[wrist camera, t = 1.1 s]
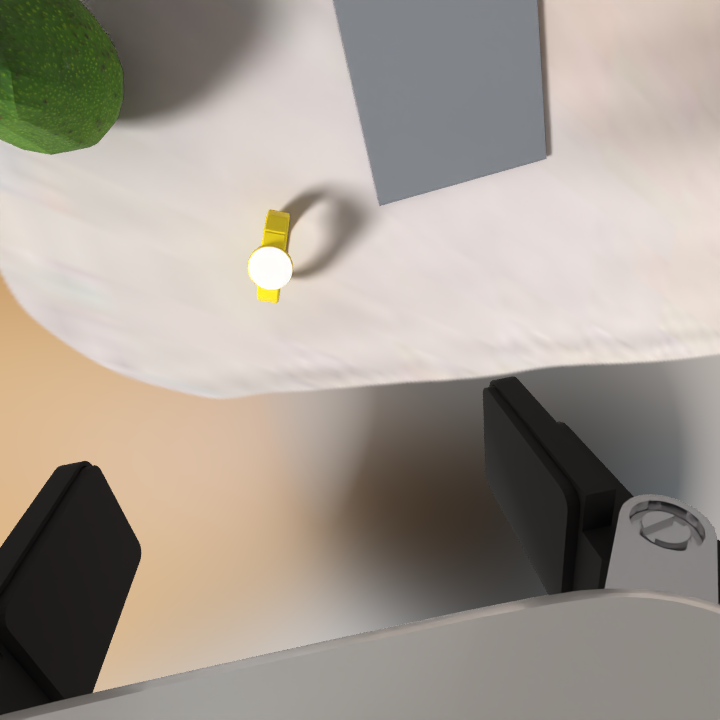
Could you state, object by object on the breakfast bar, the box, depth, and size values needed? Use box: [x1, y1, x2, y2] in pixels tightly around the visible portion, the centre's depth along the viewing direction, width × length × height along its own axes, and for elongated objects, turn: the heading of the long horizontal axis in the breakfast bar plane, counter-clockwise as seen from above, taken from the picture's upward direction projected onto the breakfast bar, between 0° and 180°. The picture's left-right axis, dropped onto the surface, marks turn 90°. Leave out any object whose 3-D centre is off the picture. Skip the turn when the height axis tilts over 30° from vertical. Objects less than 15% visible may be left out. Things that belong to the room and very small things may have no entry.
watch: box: [247, 210, 293, 303], centre depth 31 cm, size 6×3×6 cm, turn 169°
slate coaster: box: [333, 0, 546, 206], centre depth 30 cm, size 12×12×1 cm
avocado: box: [0, 0, 124, 155], centre depth 23 cm, size 8×8×12 cm
